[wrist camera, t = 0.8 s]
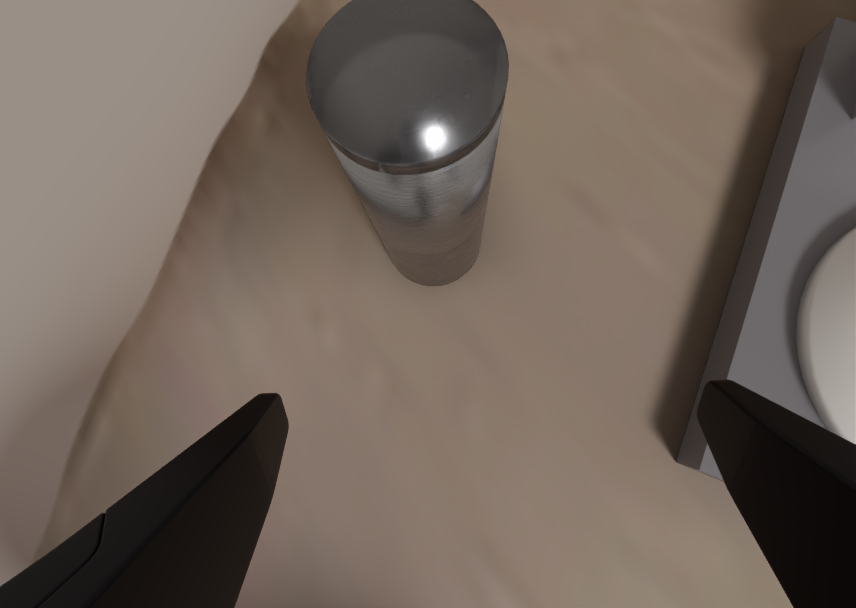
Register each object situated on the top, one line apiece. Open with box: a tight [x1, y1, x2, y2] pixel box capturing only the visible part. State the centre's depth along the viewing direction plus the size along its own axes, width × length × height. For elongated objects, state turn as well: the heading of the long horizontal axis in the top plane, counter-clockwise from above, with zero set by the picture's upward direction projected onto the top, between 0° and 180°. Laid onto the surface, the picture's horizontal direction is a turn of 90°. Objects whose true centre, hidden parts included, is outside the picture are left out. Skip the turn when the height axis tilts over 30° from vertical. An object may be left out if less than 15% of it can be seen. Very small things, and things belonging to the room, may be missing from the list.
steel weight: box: [306, 0, 509, 286], centre depth 17 cm, size 5×5×13 cm
